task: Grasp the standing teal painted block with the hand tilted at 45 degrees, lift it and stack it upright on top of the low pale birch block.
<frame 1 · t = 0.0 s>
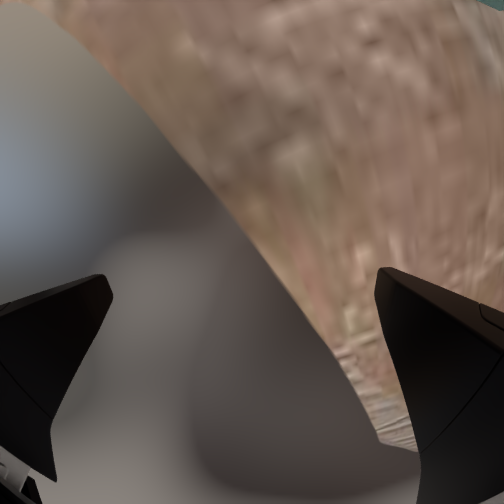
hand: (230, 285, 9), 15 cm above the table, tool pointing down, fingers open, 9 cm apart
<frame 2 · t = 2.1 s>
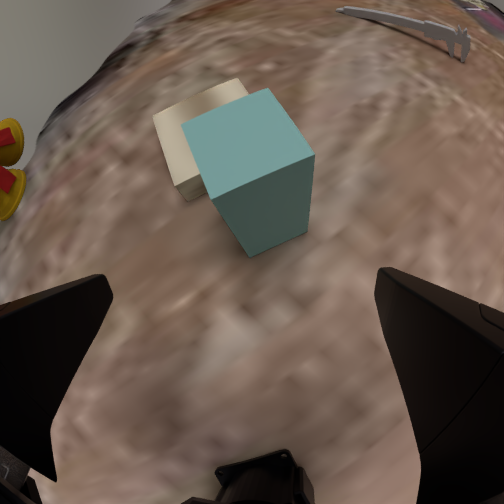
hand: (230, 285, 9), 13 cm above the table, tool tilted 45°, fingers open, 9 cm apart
caliper: (400, 33, 28), on the table
ornament: (12, 195, 30), on the table
teal block: (265, 217, 23), on the table
birch block: (218, 146, 26), on the table
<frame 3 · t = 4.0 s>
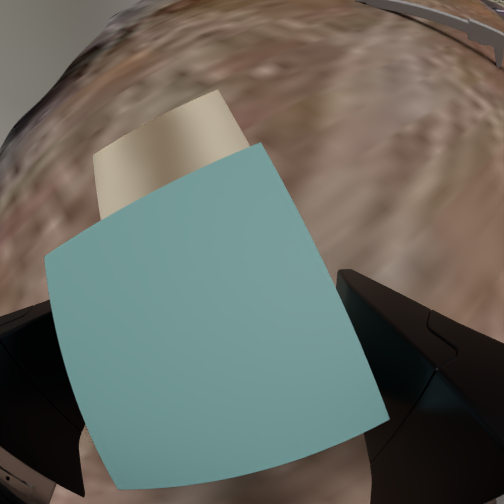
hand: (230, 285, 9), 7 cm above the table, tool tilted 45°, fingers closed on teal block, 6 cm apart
caliper: (437, 33, 20), on the table
teal block: (258, 330, 15), on the table, touching gripper
birch block: (188, 199, 18), on the table
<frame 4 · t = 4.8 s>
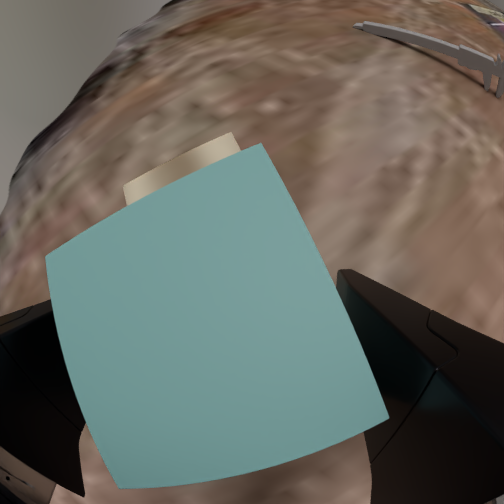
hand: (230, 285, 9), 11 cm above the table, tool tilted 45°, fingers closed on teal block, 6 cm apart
caliper: (429, 58, 24), on the table
teal block: (258, 330, 15), point 4 cm above the table, touching gripper
birch block: (207, 225, 22), on the table
when the fingers open (11 cm above the table, at t = 7.1 s): teal block drops 1 cm, point 3 cm above the table.
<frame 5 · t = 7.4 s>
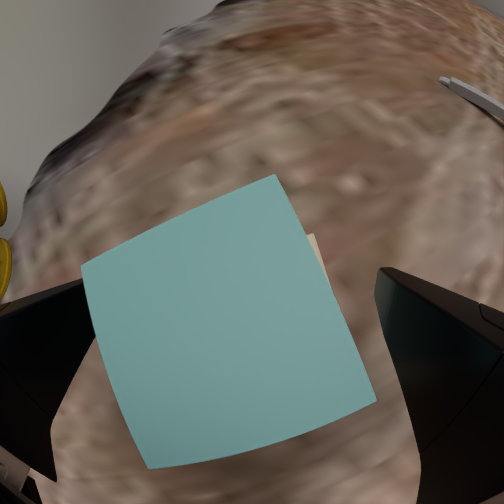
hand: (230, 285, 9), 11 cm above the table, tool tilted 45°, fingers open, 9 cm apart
teal block: (262, 330, 16), point 3 cm above the table
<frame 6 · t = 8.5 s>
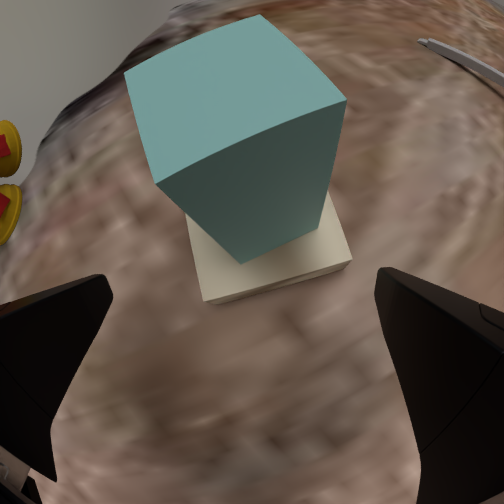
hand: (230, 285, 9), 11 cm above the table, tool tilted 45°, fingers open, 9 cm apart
caliper: (486, 87, 21), on the table
ornament: (7, 216, 26), on the table
teal block: (261, 209, 17), point 3 cm above the table
birch block: (263, 228, 21), on the table
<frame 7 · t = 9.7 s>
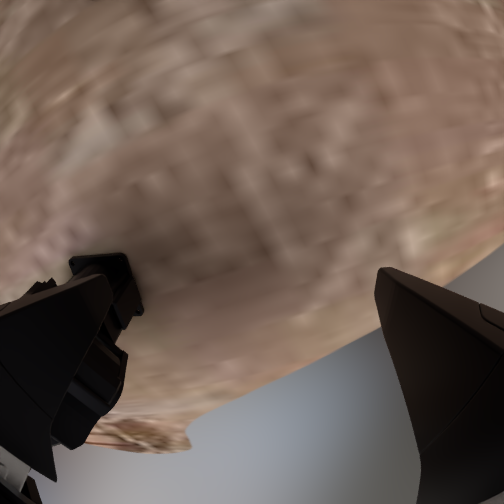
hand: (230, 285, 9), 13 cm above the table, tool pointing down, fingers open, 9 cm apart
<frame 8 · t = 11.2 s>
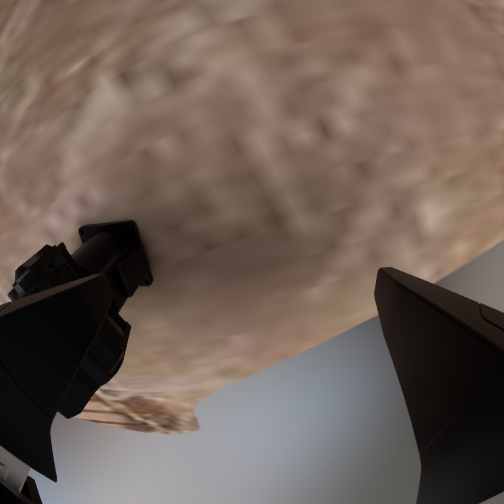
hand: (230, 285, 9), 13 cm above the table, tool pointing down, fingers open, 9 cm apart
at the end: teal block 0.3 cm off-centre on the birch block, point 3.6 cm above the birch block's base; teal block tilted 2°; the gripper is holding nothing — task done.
